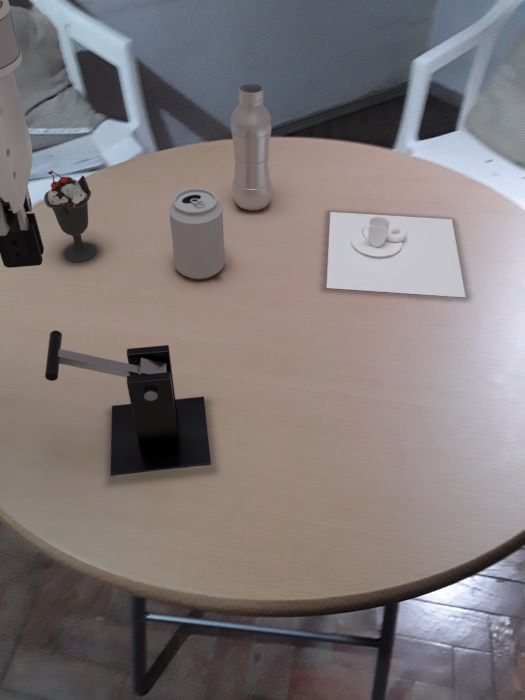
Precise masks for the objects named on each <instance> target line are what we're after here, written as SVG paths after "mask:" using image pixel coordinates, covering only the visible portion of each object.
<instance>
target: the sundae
mask: <svg viewBox="0 0 525 700" xmlns="http://www.w3.org/2000/svg"><path fill="white" fill-rule="evenodd" d="M47 174H48V175H51V176H52V182H51V184H50V187H51V188H50V189H49V190H48V191H47V192H45V194H44V196H43V200H44V204H45V205H46V206H47V208H49V209H52V211H53V213H54V216H55V219H56V220H57V223H58V225H59V228H60V229H61V231H62V232H63V233H65V234H66V235H68V236H72V238H73V243H72V244H70V245H68V246H67V247H66V248H65V250H64V252H63V255H64V258H65V259H66V260H68V261H70V262H73V263H83V262H87V261H89V260H91V259H93V258H94V257H95V256H96V254H97V252H98V249H97V247H96V246H95V245H94V244H92V243H91V242H85V241H84V242H83V239H82V234H84V232H85V231H86V230H87V229H88V226H89V207H88V206H89V205H88V202H89V201H90V198H91V196H92V190H91V189H90V188H89V184H88V181H87V180H86V177H85V176H84V175H81V177H80V178H79V180H77V179H75V178H74V177H71V176H61V175H60V174H58V173H56V172H54V170H53V169H52V170H50V171H47ZM54 175H55V176H57V177H59V179H58V180H55V176H54Z"/></svg>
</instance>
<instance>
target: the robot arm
mask: <svg viewBox="0 0 525 700" xmlns="http://www.w3.org/2000/svg"><path fill="white" fill-rule="evenodd" d="M22 55H23V54H22V51H21V46H20V43H19V37H18V34H17V29H16V25H15V21H14V18H13V11H12V9H11V6H10V1H9V0H0V258H1V261H2V265H3V266H4V267H5V268H8V269H12V268H23V267H25V268H26V267H37V266H41V265H42V263H43V254H44V252H45V247H44V244H43V240H42V236H41V232H40V228H39V225H38V221H37V217H36V214H35V212H33V204H32V203H33V202H32V199H31V195H30V190H29V182H30V176H31V172H32V171H31V170H32V165H33V145H32V140H31V135H30V131H29V130H30V129H29V126H28V122H27V118H26V113H25V110H24V107H23V103H22V98H21V95H20V92H19V89H18V85H17V81H16V77H15V74H14V72H15V70H16V69H18V68H20V67H21V64H22V62H23V56H22Z"/></svg>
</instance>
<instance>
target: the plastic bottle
mask: <svg viewBox="0 0 525 700" xmlns="http://www.w3.org/2000/svg"><path fill="white" fill-rule="evenodd" d="M264 91H265V90H264V86H263V85H261V84H259V83H255V82H246V83H243V84H241V85H240V86H239V87H238V96H237V100H238V102H239V103H238V105H237V106H236V107H235V108H234V110H233V112H232V113H231V116H230V118H229V119H230V120H229V126H230V127H229V128H230V131H231V132H230V133H231V137H232V138H231V139H232V144H233V152H234V174H233V175H234V177H233V181H232V188H231V189H232V190H231V192H232V197H233V200H234V202H235V203H236V205H237V206H238V207H240V208H241V209H243V210H246V211H247V210H248V211H258V210H262V209H264V208H266V207H267V206H268V205H269V204H270V202H271V200H272V195H273V188H272V182H271V181H272V180H271V178H270V166H269V158H270V157H269V154H270V143H271V135H272V129H273V120H272V117H271V114H270V111H269V110H268V108H266V106H265V104H264V102H265V95H264V93H265V92H264Z"/></svg>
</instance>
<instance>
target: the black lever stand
mask: <svg viewBox="0 0 525 700" xmlns="http://www.w3.org/2000/svg"><path fill="white" fill-rule="evenodd" d="M126 357H127V363H128V364H132V365H138V363H139V361H140V359H141V358H145V359H149V360H154V361H159V362H163V363H166V370H167V372H165V373H155V374H144V375H134V376H127V377H126V386H127V392H128V396H129V402H130V403H125V404H116V405H111V430H110V431H111V433H110V434H111V435H110V436H111V437H110V476H120V475H130V474H138V473H139V474H140V473H146V472H147V473H149V472H156V471H165V470H175V469H183V468H185V469H186V468H192V467H202V466H210V465H212V462H211V453H210V442H209V433H208V423H207V416H206V415H207V413H206V405H205V404H206V403H205V396H195V397H186V398H176V392H175V384H174V377H173V375H174V374H173V369H172V361H171V360H172V359H171V352H170V346H169V344H164V345H154V346H153V345H151V346H142V347H131V348H127V349H126Z"/></svg>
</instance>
